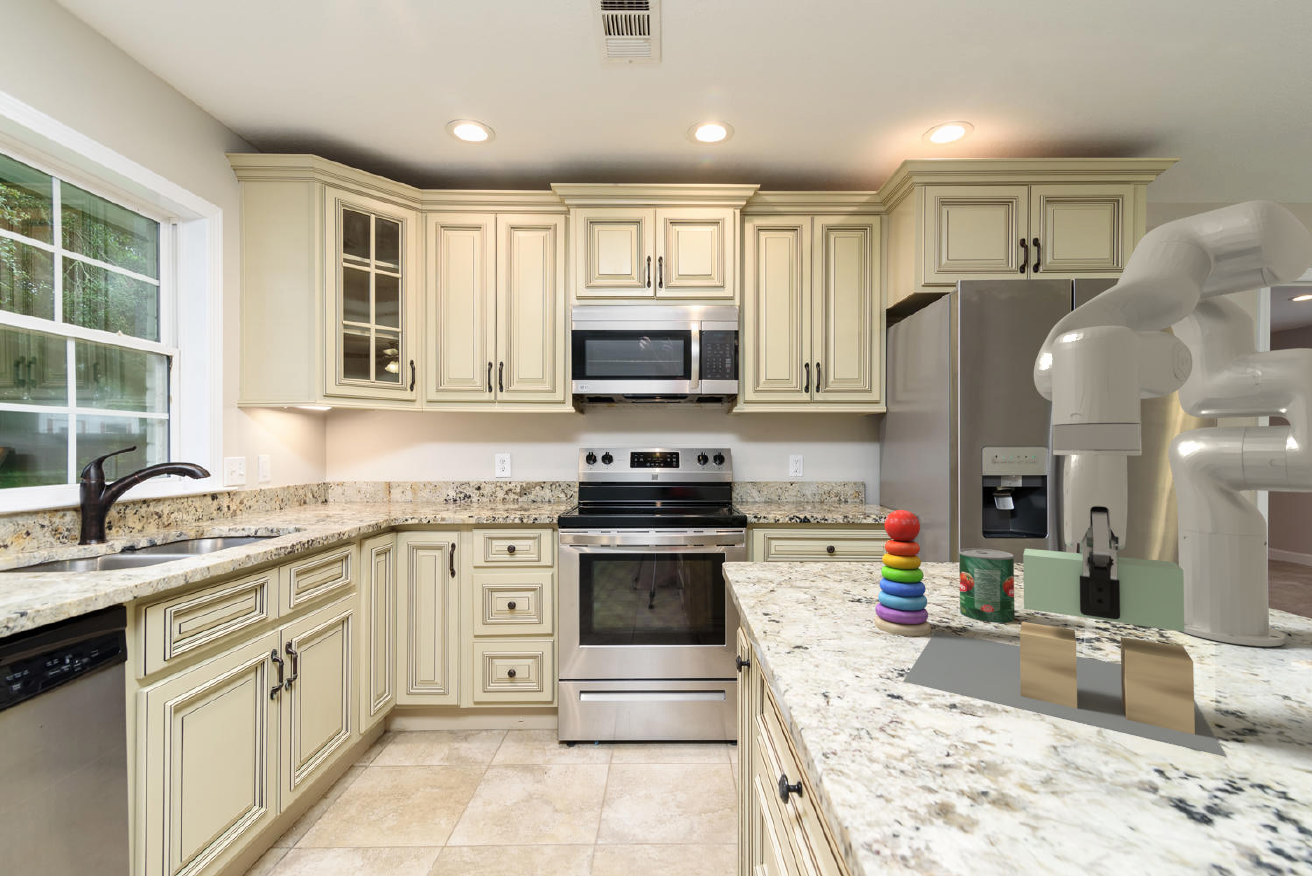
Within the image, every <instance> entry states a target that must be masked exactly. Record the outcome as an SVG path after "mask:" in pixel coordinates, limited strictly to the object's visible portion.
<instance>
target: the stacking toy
mask: <svg viewBox="0 0 1312 876" xmlns="http://www.w3.org/2000/svg"><path fill="white" fill-rule="evenodd" d="M920 530H921V524H920V520H919V519H918V517H917V516H916V515H915V513H913V512H911V511H910V510H905V509H899V510H898V509H897V510H894V511H892V512H890V513H889V514H888V515H887V516H886V518H885V521H884V531H885V532H886V534H887V536H888V537H889V538H890V539H889V540H887V541H886V542H885V544H884V549H885V551H886V552H887V553H884V555H882V557H881V558H882V559H881V561H882V563H883V565H884V566H882V568H881V572H880V573H881V576H882V577H883V578H881V580H879V588H880V592H879V593H878V597H877V598H878V601H879V602H878V603H877V604H876V605H875V608H874V609H875V614H876V616H875V618H874V620H873V621H874V622H873V623H874V626H875V627H876V628H877V629H878V630H880V631H883V632H885V633H888V634H893V635H897V636H898V635H899V636H904V637H922V636H926V635H928V634H930V633H931V630H932V627H931V624H930V622H929V621H928V618H929V613H928V610H927V609H926V607H927V605H928V598H927V597H926V595H925V592H926V590H927V589H926V585H925V584H924V582H922V581H923V579H924V577H925V576H924V572H923V570H922V569H921V568H920V567H921V565H922V560H921V558H920V557H919V556H918V554H919V553H920V550H921V546H920V545H919V543H918V542H916V541H914V540H915V539H916V538H917V537H918V535H919V533H920V532H921V531H920Z"/></svg>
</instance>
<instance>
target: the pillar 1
mask: <svg viewBox="0 0 1312 876" xmlns="http://www.w3.org/2000/svg"><path fill="white" fill-rule="evenodd" d="M1020 625H1021V626H1020V631H1019V646H1020V676H1021V696H1023V697H1027V698H1032V699H1036V700H1041V701H1045V702H1050V703H1054V704H1059V705H1063V706H1068V707H1072V708H1077V662H1076V656H1077V638H1076V637H1077V636H1076V631H1075V629H1072V628H1066V627H1065V628H1063V627H1060V626H1053V625H1046V624H1038V623H1033V622H1027V621H1026V622H1025V621H1021V624H1020Z"/></svg>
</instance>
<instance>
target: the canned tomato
mask: <svg viewBox="0 0 1312 876" xmlns="http://www.w3.org/2000/svg"><path fill="white" fill-rule="evenodd" d="M958 553H959V554H958V556H959V557H958V563H959V565H958V567H959V575H958V577H959V614H960V615H962V616H963V617H965V618H969V619H972V620H975V621H980V622H986V623H994V624H995V623H997V624H1006V623H1012V622H1014V621H1015V619H1016V618H1015V613H1016V612H1015V611H1016V610H1015V606H1016V605H1015V563H1014V558H1015V556H1014V554H1012V553H1011V552H1007V551H1002V550H998V549H997V550H996V549H990V548H989V549H987V548H961V549H959V550H958Z"/></svg>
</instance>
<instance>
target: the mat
mask: <svg viewBox="0 0 1312 876" xmlns="http://www.w3.org/2000/svg"><path fill="white" fill-rule="evenodd" d="M1076 662H1077V708H1072V707H1068V706H1063V705H1059V704H1054V703H1050V702H1045V701H1041V700H1036V699H1032V698H1027V697H1023V696H1021V676H1020V645H1015V644H1008V643H1004V642H997V641H992V640H986V639H980V638H975V637H970V636H969V637H968V636H964V635H957V634H953V633H952V634H951V633H948V632H947V633H946V632H942V631H934V633H933V634H932V636H931V637H930V638H929V640H928V642H927V644H926V645H925V646H924V648H923V650H922V652H921V653H920V655H918V657H917V659H916V661H915V662H914V664H913V665H912V667H911V668H910V670H909V671H908V673H907V675H906V676H905V678H904V679H903V682H904V683H908V684H911V685H912V684H913V685H915V686H920V687H921V686H922V687H925V688H930V689H932V690H933V689H935V690H938V691H943V692H947V693H951V694H954V695H959V696H963V697H968V698H973V699H977V700H980V701H986V702H989V703H993V704H998V705H1003V706H1007V707H1011V708H1015V709H1020V710H1023V711H1029V712H1032V713H1037V714H1041V715H1045V716H1048V717H1054V718H1058V719H1062V720H1067V721H1072V722H1076V723H1080V724H1082V725H1083V724H1084V725H1088V726H1093V727H1097V728H1102V729H1105V730H1109V731H1113V732H1118V733H1122V734H1127V735H1131V736H1135V737H1139V738H1144V739H1148V740H1153V741H1157V742H1161V743H1165V744H1170V745H1174V746H1179V747H1181V748H1182V747H1184V748H1186V749H1191V750H1195V751H1200V752H1205V753H1208V754H1213V755H1216V756H1221V757H1225V758H1226V757H1227V755H1226V754H1225V751H1224V749H1223V748H1222V746H1221V745H1220V743H1219V741H1218V739H1217V738H1216V736H1215V734H1214V732H1213V731H1212V729H1211V727H1210V725H1209V724H1208V721H1207V720H1206V719H1205V717H1204V714H1203V713H1202V711H1201V710H1200V707H1199V706H1198V704H1197V702H1196V700H1195V699H1194V720H1195V735H1194V734H1189V733H1185V732H1180V731H1176V730H1171V729H1167V728H1162V727H1158V726H1153V725H1149V724H1144V723H1140V722H1135V721H1131V720H1127V719H1126V715H1125V712H1124V708H1123V704H1122V690H1121V663H1117V662H1116V663H1115V662H1111V661H1105V660H1101V659H1100V660H1099V659H1095V658H1088V657H1082V656H1077V655H1076Z"/></svg>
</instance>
